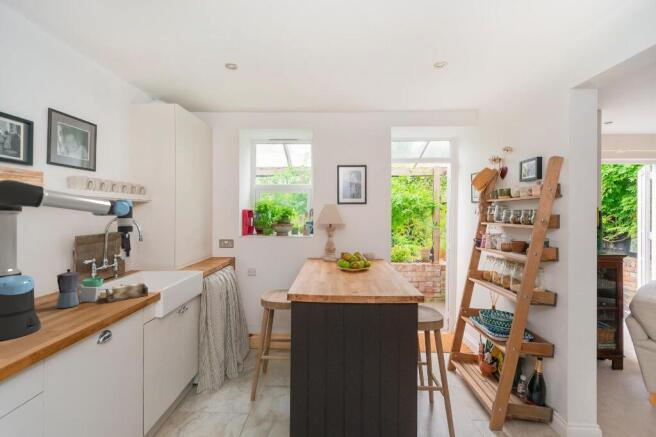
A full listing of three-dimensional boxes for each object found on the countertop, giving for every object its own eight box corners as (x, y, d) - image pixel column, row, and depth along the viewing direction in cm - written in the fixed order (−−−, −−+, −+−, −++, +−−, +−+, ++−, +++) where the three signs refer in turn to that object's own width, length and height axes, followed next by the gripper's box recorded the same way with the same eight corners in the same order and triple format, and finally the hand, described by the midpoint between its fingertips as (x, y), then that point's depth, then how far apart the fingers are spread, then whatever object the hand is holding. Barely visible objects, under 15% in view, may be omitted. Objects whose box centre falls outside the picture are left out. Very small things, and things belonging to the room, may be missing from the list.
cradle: (108, 302, 157) (107, 294, 157) (106, 297, 167) (105, 289, 167) (148, 295, 170) (147, 287, 170) (143, 291, 180) (143, 283, 180)
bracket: (99, 301, 164) (101, 284, 164) (94, 303, 160) (96, 286, 160) (77, 299, 162) (80, 282, 162) (72, 302, 158) (74, 284, 158)
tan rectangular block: (113, 299, 162) (113, 288, 162) (112, 297, 166) (112, 287, 166) (142, 294, 172) (141, 284, 171) (140, 292, 175) (140, 282, 175)
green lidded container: (100, 296, 169) (100, 280, 169) (79, 298, 165) (79, 281, 165) (108, 290, 183) (108, 275, 182) (89, 292, 179) (89, 276, 179)
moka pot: (85, 301, 161) (84, 266, 160) (71, 309, 146) (70, 271, 146) (64, 303, 157) (63, 267, 157) (48, 312, 143) (47, 273, 142)
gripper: (136, 225, 161) (137, 262, 161) (129, 224, 179) (130, 257, 180) (120, 226, 156) (120, 264, 156) (115, 225, 174) (115, 259, 175)
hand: (126, 260), depth 168 cm, fingers open, 13 cm apart
